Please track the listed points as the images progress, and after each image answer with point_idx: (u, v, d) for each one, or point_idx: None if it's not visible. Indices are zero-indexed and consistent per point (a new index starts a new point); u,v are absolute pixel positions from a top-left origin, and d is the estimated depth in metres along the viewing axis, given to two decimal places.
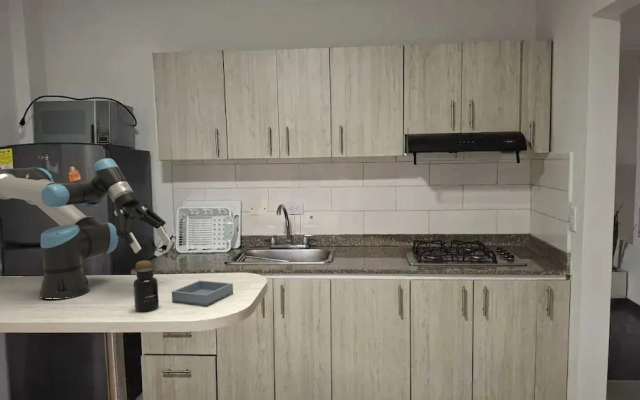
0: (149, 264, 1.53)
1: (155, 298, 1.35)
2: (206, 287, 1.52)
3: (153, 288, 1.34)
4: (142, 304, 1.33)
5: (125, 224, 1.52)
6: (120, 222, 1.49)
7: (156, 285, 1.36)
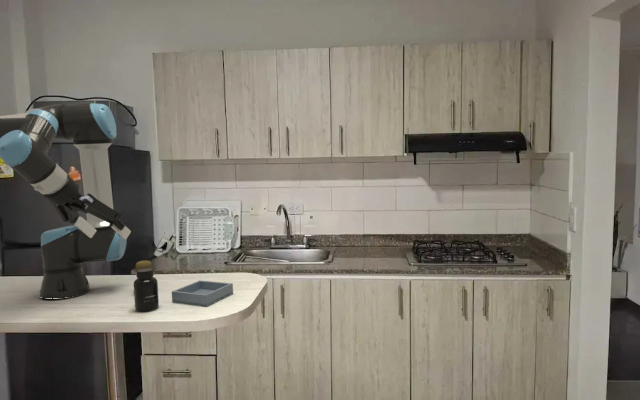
0: (149, 264, 1.53)
1: (155, 298, 1.35)
2: (206, 287, 1.52)
3: (153, 288, 1.34)
4: (142, 304, 1.33)
5: None
6: (60, 213, 1.22)
7: (156, 285, 1.36)
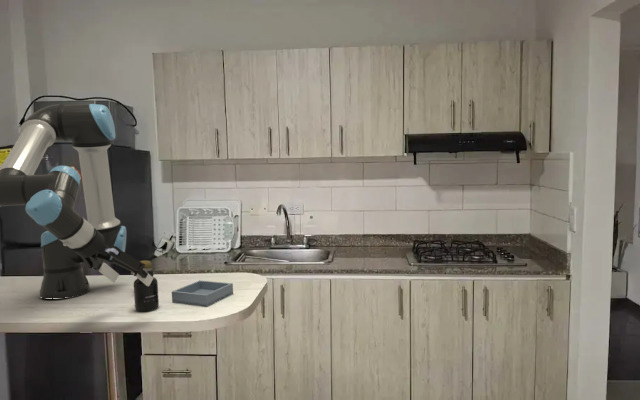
0: (149, 264, 1.53)
1: (155, 298, 1.35)
2: (206, 287, 1.52)
3: (153, 288, 1.34)
4: (142, 304, 1.33)
5: None
6: (85, 261, 1.26)
7: (156, 285, 1.36)
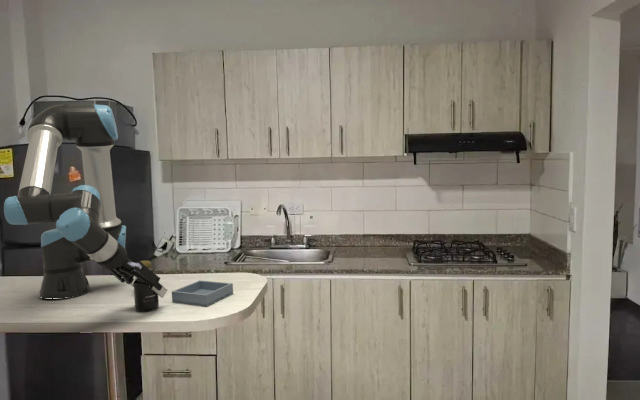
0: (149, 264, 1.53)
1: (155, 298, 1.35)
2: (206, 287, 1.52)
3: None
4: (142, 304, 1.33)
5: None
6: (115, 275, 1.34)
7: None
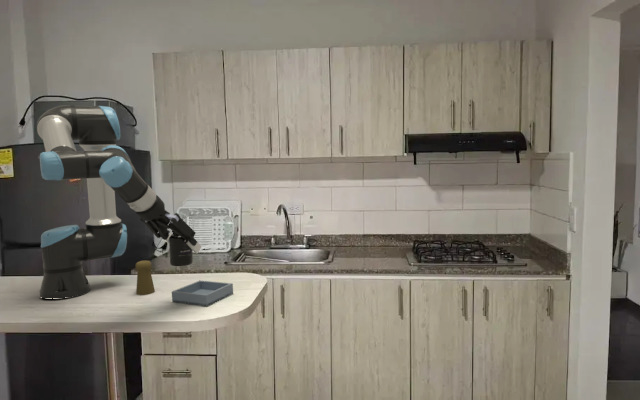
0: (149, 264, 1.53)
1: (190, 253, 1.38)
2: (206, 287, 1.52)
3: None
4: (177, 258, 1.36)
5: None
6: (151, 230, 1.37)
7: None
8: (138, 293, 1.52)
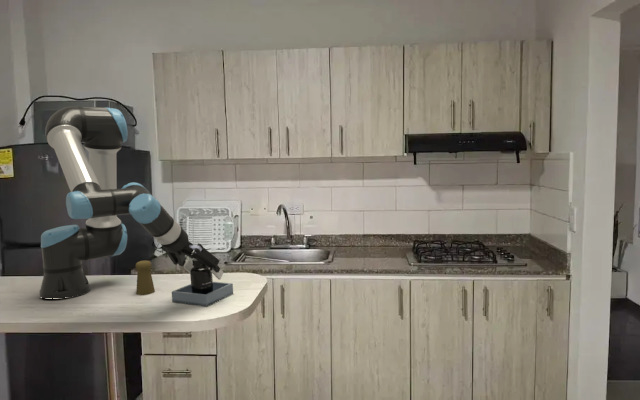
0: (149, 264, 1.53)
1: (210, 285, 1.43)
2: None
3: (208, 276, 1.43)
4: (199, 291, 1.41)
5: None
6: (170, 258, 1.42)
7: (211, 273, 1.44)
8: (138, 293, 1.52)
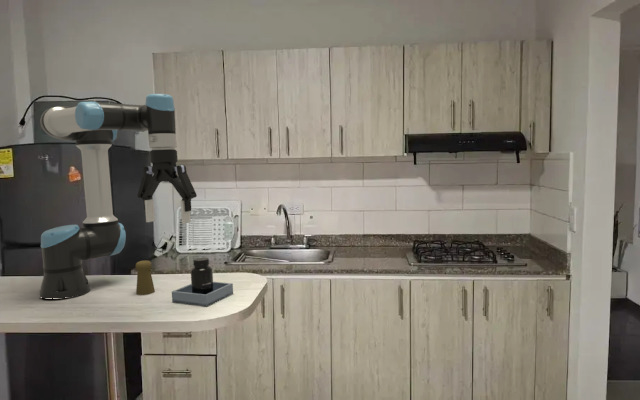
0: (149, 264, 1.53)
1: (211, 285, 1.43)
2: None
3: (209, 276, 1.43)
4: (200, 291, 1.41)
5: None
6: (141, 185, 1.33)
7: (211, 273, 1.44)
8: (138, 293, 1.52)
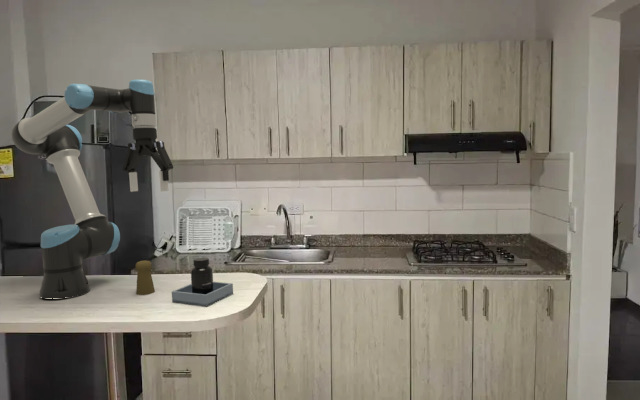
0: (149, 264, 1.53)
1: (211, 285, 1.43)
2: None
3: (209, 276, 1.43)
4: (200, 291, 1.41)
5: None
6: (126, 159, 1.53)
7: (212, 273, 1.44)
8: (138, 293, 1.52)
